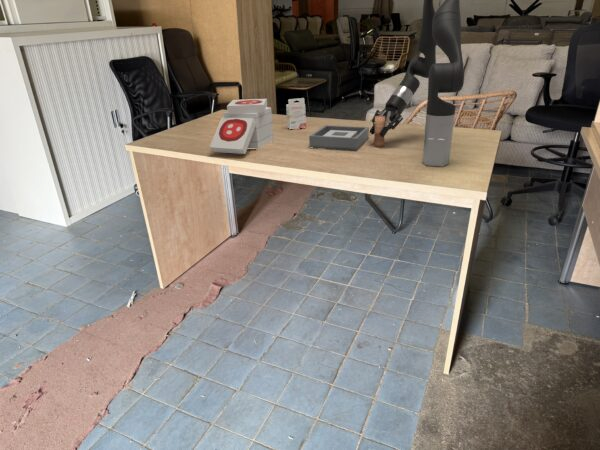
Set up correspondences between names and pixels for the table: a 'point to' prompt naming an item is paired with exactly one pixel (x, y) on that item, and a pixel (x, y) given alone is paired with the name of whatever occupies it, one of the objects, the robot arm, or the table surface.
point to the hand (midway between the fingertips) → (376, 134)
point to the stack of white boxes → (243, 127)
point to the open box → (339, 137)
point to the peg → (378, 127)
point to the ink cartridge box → (296, 113)
